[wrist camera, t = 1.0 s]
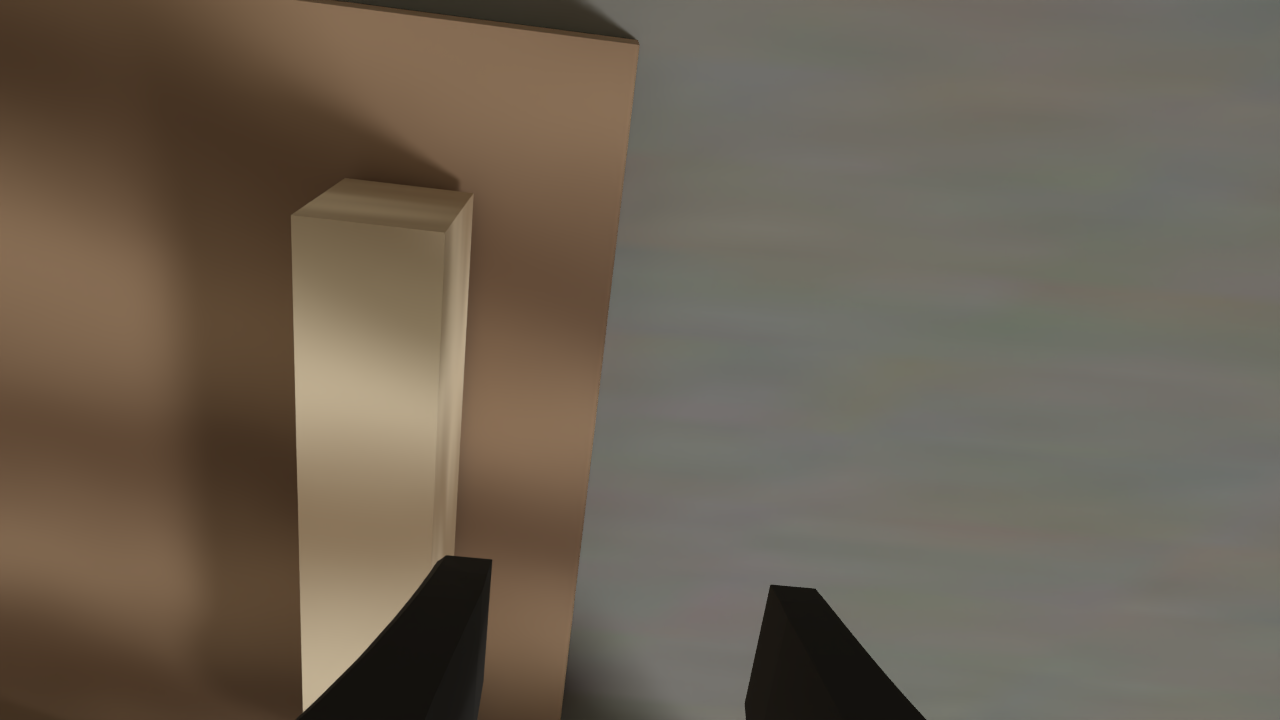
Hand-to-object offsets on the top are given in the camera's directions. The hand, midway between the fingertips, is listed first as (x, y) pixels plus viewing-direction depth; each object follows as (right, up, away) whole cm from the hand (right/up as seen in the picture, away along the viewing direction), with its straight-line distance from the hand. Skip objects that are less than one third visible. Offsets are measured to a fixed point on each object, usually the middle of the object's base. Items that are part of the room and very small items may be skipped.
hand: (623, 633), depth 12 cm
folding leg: (-5, 0, +8) cm, 9 cm away
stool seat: (-11, +2, +9) cm, 14 cm away
